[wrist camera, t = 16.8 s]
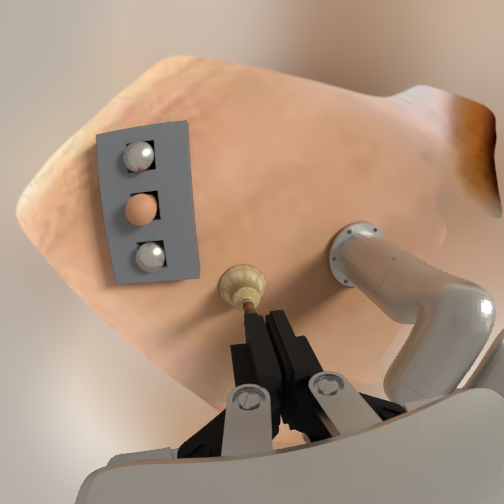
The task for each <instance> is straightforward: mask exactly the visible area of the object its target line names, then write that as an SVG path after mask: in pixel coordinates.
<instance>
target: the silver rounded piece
mask: <svg viewBox="0 0 504 504" xmlns="http://www.w3.org/2000/svg"><path fill="white" fill-rule="evenodd" d="M164 261H165V248H164V242H163V241H162V240H158V241H147V242H146V243H144V244H143V245H141V246H140V248H139V249H138V251H137V253H136V262H137V264H138V266H139V267H140V268H141V269H142V270H144V271H147V272H155V271H157V270H159V269H160V268H161V267H162V265H163V263H164Z"/></svg>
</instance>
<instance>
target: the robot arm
mask: <svg viewBox="0 0 504 504" xmlns="http://www.w3.org/2000/svg"><path fill="white" fill-rule="evenodd" d="M347 231H348V232H347ZM328 260H329V267H330V270H331V272H332V274H333V276H334V277H335V278H336V279H337V280H338V281H339V282H340V283H342V284H343V285H346V286H349V287H358V288H359V289H360V290H361V291H362V292H363V293H364V294H365V295H366V296H367V297H368V298H369V299H370V300H371V301H372V302H373V303H374V304H376V305H377V306H378V307H379V308H380V309H381V310H382V311H383V312H384V313H385V314H386V315H387V316H388V317H389V318H390V319H392V320H393V321H395V322H398V323H401V324H415V325H414V327H413V329H412V331H411V333H410V335H409V337H408V338H407V340H406V342H405V344H404V345H403V347H402V349H401V350H400V352H399V353H398V355H397V356H396V358H395V359H394V361H393V363H392V364H391V366H390V367H389V369H388V371H387V373H386V375H385V378H384V382H383V387H384V391H385V393H386V395H387V397H388V398H389V400H390V401H391V402H390V401H386V400H383V399H379V398H376V397H372V396H369V395H366V394H362V393H359V392H357V391H356V390H355V388H354V387H353V386H352V385H351V384H350V382H349V381H348V380H347V379H346V378H345V377H344V376H343V375H341V374H339V373H337V372H332V371H323V369H322V367H321V365H320V363H319V361H318V359H317V357H316V356H315V354H314V352H313V350H312V348H311V346H310V344H309V342H308V340H307V338H306V337H305V336H298V337H296V336H295V334H294V332H293V330H292V328H291V326H290V324H289V321H288V319H287V317H286V315H285V313H284V311H283V310H276V311H270V315H266V317H265V319H266V325H265V322H264V319H263V316H258V314H257V313H250V314H244V320H245V334H246V344H236V345H230V346H231V355H232V363H233V371H234V379H235V386H236V388H234V389H233V390H232V391H231V392H230V393H229V395H228V398H227V406H226V409H225V410H223V411H222V412H221V413H220V414H219V415H218V416H216V417H215V418H214V419H213V420H212V421H210V422H209V423H208V424H207V425H206V426H204V427H203V428H202V429H201V430H200V431H198V432H197V433H196V434H194V435H193V436H192V437H191V438H189V439H188V440H187V441H185V442H184V443H183V444H182V445H181V446H180V448H177V449H172V450H171V449H170V447H168V448H163V449H157V450H150V451H144V452H135V453H127V454H120V455H116V456H114V457H113V458H111V459H110V461H109V462H108V464H107V466H105V467H102V468H100V469H97V470H95V471H94V472H92V473H91V474H89V475H88V476H87V478H86V479H85V480H84V482H83V484H82V485H81V488H80V490H79V492H78V495H77V498H76V502H75V504H504V329H503V330H502V331H501V332H500V333H499V334H498V336H497V337H496V338H495V340H494V341H493V343H492V345H491V346H490V348H489V349H488V351H487V353H486V354H485V356H484V357H483V359H482V360H481V362H480V363H479V365H478V367H477V368H476V370H475V371H474V372H473V374H472V376H471V377H470V378H469V380H468V381H467V383H466V384H465V385H464V387H462V388H459V389H458V388H456V387H457V386H458V384H459V383H460V382H461V380H462V379H463V378H464V376H465V375H466V373H467V372H468V371H469V370H470V368H471V366H472V365H473V363H474V362H475V360H476V358H477V357H478V355H479V354H480V352H481V351H482V349H483V347H484V346H485V344H486V342H487V340H488V338H489V336H490V334H491V331H492V329H493V326H494V323H495V318H496V304H495V301H494V299H493V297H492V295H491V294H490V293H489V292H488V291H487V290H486V289H484V288H483V287H481V286H480V285H478V284H476V283H474V282H471V281H469V280H465V279H463V278H460V277H457V276H454V275H451V274H449V273H447V272H444V271H442V270H440V269H438V268H436V267H434V266H432V265H430V264H428V263H427V262H425V261H423V260H421V259H419V258H418V257H416V256H414V255H412V254H410V253H409V252H407V251H405V250H403V249H402V246H401V245H398V246H396V245H394V244H392V243H390V242H388V241H387V240H386V237H385V235H384V233H383V232H382V231H381V230H380V229H379V228H378V227H377V226H375V225H373V224H371V223H368V222H356V223H352V224H350V225H348V226H346V227H345V228H344V229H342V230H341V231H340V232H339V234H338V235H337V236H336V237H335V239H334V240H333V243H332V245H331V247H330V251H329V259H328ZM280 417H282V420H283V423H284V424H287V423H288V424H289V428H290V430H294V429H295V430H297V431H299V432H302V436H303V439H304V441H305V442H306V444H303V445H298V446H294V447H288V448H283V449H277V450H273V449H272V448H273V447H272V440H273V438H274V437H275V436H276V435H277V434H278V433H279V425H280Z"/></svg>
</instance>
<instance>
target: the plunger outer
mask: <svg viewBox="0 0 504 504" xmlns="http://www.w3.org/2000/svg"><path fill="white" fill-rule="evenodd" d="M123 160H124V163H125V165H126V167H127V168H128V169H130V170H131V171H135V172H140V171H144V170H146V169H148V168H149V167H151V166H152V165H153V164H154V163H155V149H154V148H153V147H152V146H151V145H150V144H148V143H146V142H143V141H135V142H133V143H131V144H129V145H128V146H127V148H126V149H125V151H124V155H123Z"/></svg>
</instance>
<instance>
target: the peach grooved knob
mask: <svg viewBox="0 0 504 504" xmlns="http://www.w3.org/2000/svg"><path fill="white" fill-rule="evenodd" d="M158 208H159V202H158V199H157V198H156V196H154V195H153V194H150V193H145V194H143V193H141V194H137V195H135V196H133V197H131V198H130V199H129V200H128V202H127V204H126V207H125V213H126V217H127V219H128V220H129V221H130V222H131V223H132V224H134V225H136V226H144V225H147V224H149V223H150V222H151V221H152V220H153V219H154V217H155V215H156V212H157V210H158Z"/></svg>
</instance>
